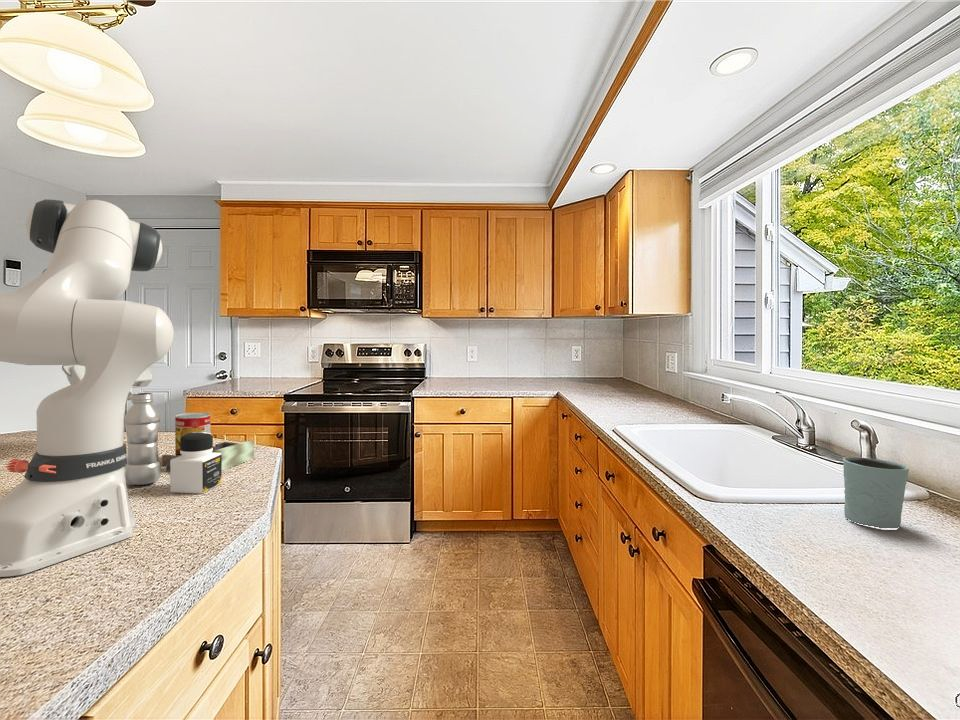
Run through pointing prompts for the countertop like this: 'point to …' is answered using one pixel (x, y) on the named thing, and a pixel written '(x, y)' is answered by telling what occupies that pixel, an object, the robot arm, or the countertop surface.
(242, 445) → the trap lane
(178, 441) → the canned food
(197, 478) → the medicine bottle
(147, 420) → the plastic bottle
